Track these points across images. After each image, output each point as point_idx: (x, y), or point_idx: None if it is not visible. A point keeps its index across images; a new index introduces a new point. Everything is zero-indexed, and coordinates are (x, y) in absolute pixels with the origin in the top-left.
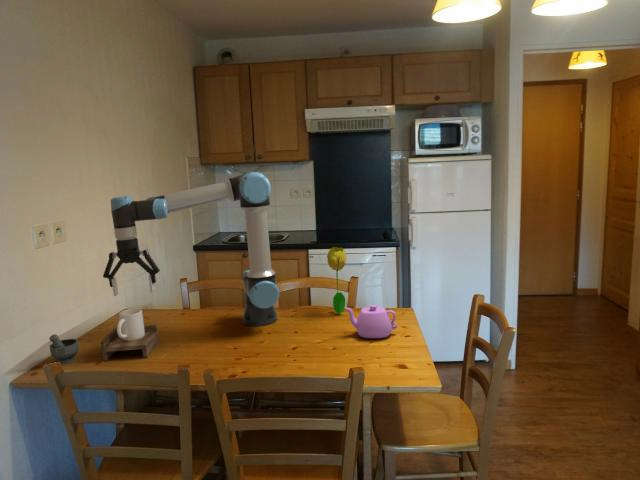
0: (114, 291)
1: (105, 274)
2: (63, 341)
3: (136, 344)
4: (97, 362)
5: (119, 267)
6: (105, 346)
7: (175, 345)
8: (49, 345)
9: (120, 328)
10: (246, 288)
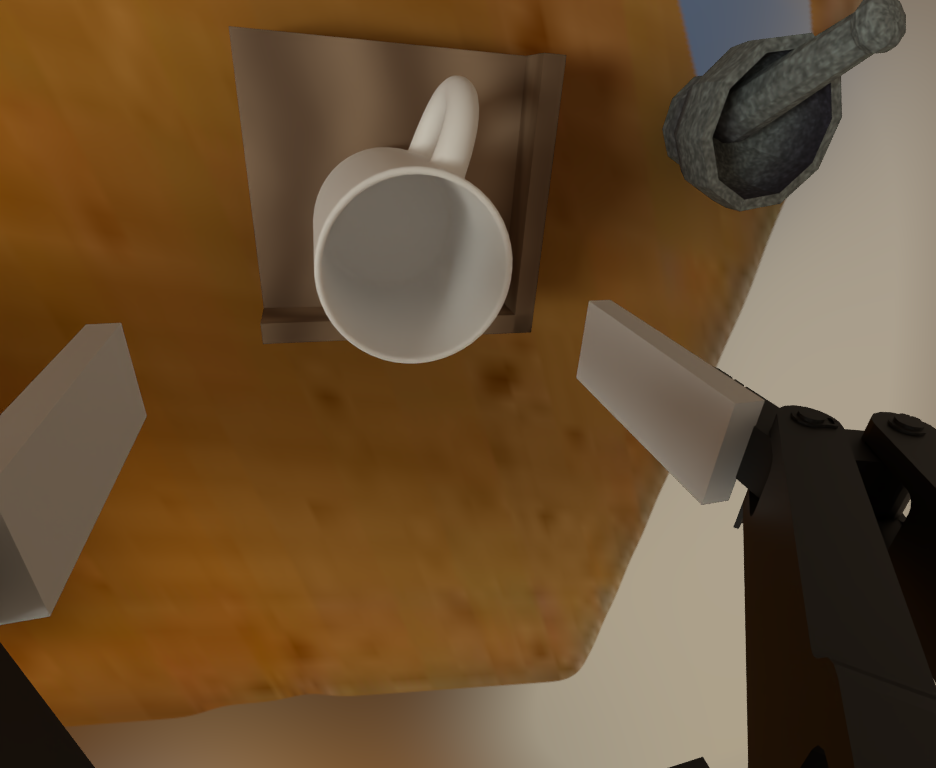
0: (627, 319)
1: (926, 447)
2: (773, 192)
3: (313, 61)
4: (544, 49)
5: (767, 640)
6: (526, 72)
7: (129, 232)
8: (840, 117)
9: (446, 89)
10: None
